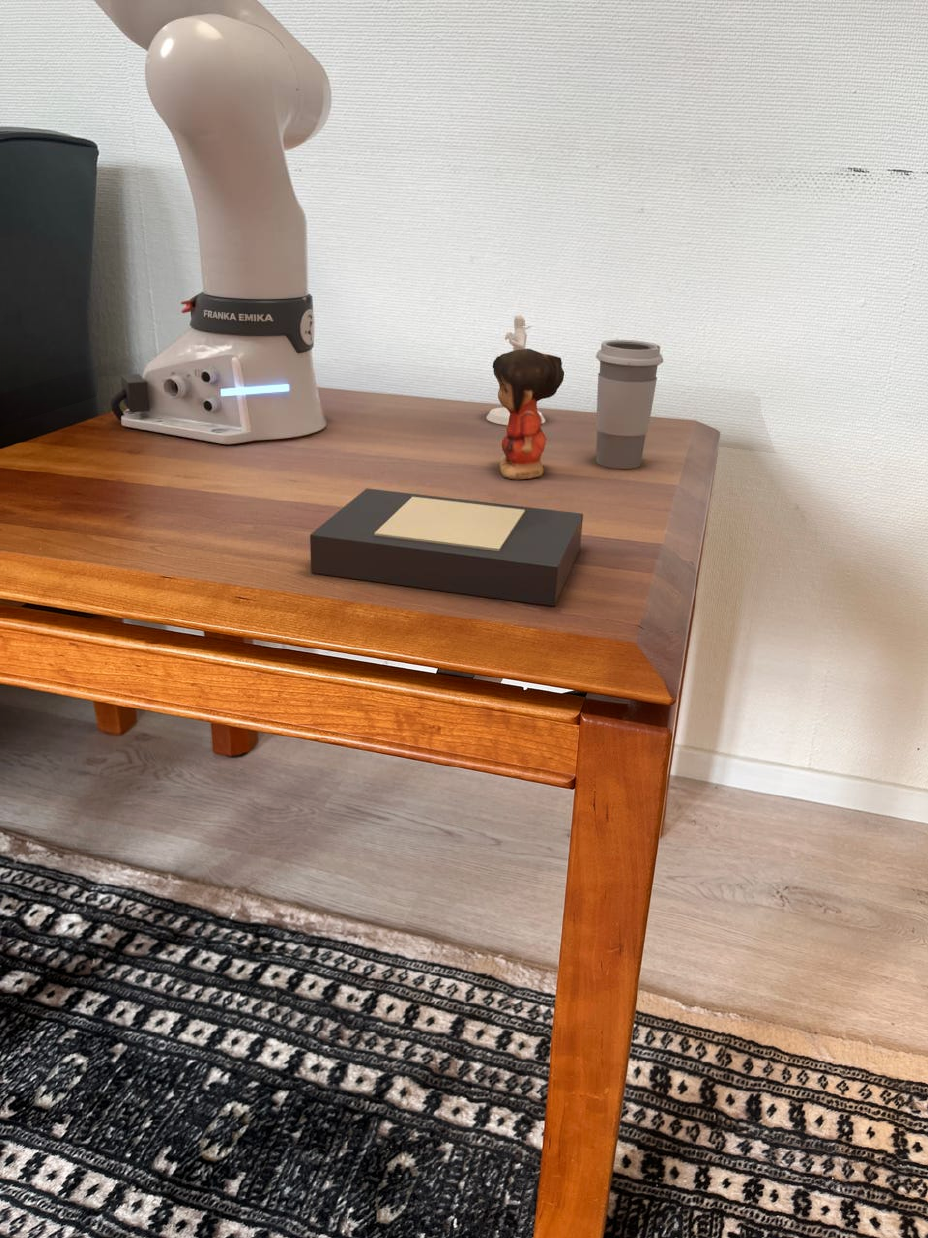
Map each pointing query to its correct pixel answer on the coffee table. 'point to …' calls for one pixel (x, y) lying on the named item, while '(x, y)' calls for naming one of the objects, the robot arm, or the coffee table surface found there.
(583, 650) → the coffee table surface
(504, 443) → the figurine
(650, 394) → the cup
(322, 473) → the coffee table surface
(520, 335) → the figurine
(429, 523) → the block
